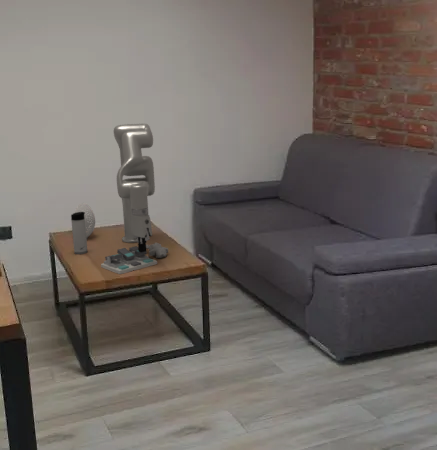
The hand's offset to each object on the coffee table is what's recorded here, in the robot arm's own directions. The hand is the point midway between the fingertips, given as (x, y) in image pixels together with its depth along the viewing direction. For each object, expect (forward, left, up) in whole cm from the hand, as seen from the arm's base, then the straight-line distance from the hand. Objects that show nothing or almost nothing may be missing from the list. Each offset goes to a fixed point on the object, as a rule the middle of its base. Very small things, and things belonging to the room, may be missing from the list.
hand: (142, 251), depth 312 cm
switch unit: (+6, -2, -6) cm, 9 cm away
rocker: (+13, -4, -1) cm, 13 cm away
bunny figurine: (-12, -6, -6) cm, 15 cm away
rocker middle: (+6, -4, -1) cm, 7 cm away
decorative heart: (-7, -61, -6) cm, 61 cm away
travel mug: (+10, -37, -6) cm, 39 cm away
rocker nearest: (0, -4, -1) cm, 4 cm away
